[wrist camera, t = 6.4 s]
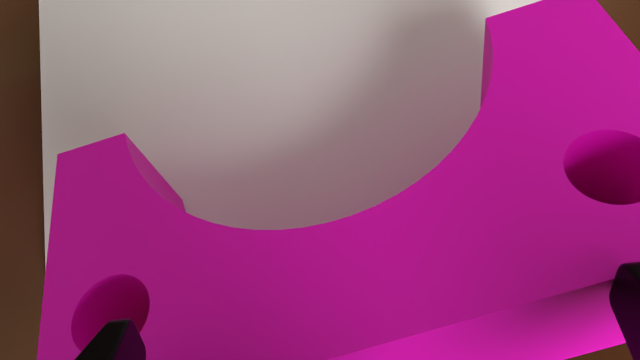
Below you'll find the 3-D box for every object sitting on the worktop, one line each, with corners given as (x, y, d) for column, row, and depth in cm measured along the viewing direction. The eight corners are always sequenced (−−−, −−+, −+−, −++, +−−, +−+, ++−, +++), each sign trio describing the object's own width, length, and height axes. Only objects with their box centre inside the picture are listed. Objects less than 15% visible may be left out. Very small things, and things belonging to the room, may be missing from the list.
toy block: (671, 330, 15) (549, 130, 19) (787, 230, 10) (584, -14, 14) (169, 467, 16) (160, 248, 20) (28, 443, 10) (57, 153, 15)
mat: (631, 222, 18) (641, 220, 18) (55, 288, 18) (46, 289, 17) (545, -178, 21) (552, -191, 20) (43, -123, 21) (35, -134, 20)
